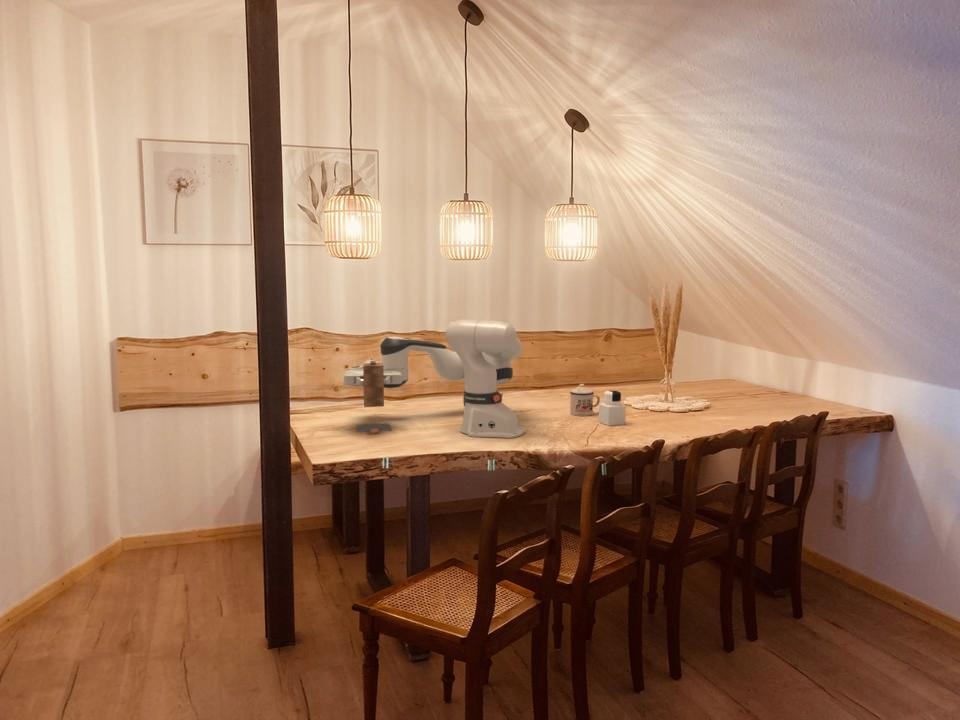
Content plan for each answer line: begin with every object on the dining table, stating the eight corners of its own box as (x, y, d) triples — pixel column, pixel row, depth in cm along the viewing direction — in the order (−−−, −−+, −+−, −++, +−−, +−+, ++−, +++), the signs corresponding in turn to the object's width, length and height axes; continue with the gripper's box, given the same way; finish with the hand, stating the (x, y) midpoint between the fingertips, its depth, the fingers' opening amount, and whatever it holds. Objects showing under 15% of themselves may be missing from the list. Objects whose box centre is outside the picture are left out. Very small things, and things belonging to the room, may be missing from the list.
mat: (389, 424, 296) (389, 423, 296) (391, 431, 284) (391, 430, 284) (356, 425, 294) (356, 424, 294) (356, 432, 282) (356, 431, 282)
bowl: (379, 433, 282) (379, 428, 282) (376, 435, 279) (376, 430, 279) (372, 432, 283) (372, 428, 282) (369, 434, 280) (369, 429, 280)
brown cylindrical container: (383, 402, 284) (382, 359, 281) (383, 406, 277) (383, 362, 275) (363, 403, 283) (363, 359, 280) (364, 406, 276) (363, 362, 274)
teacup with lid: (574, 416, 310) (575, 386, 308) (566, 412, 318) (566, 382, 317) (604, 415, 313) (604, 385, 311) (594, 410, 321) (595, 381, 320)
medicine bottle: (615, 420, 303) (616, 389, 301) (625, 424, 296) (626, 392, 294) (598, 422, 300) (599, 390, 299) (608, 426, 294) (608, 393, 292)
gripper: (401, 383, 293) (404, 390, 280) (343, 385, 290) (343, 391, 276) (401, 366, 292) (404, 372, 279) (343, 367, 289) (343, 373, 276)
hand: (373, 381), depth 278 cm, fingers closed on brown cylindrical container, 7 cm apart
